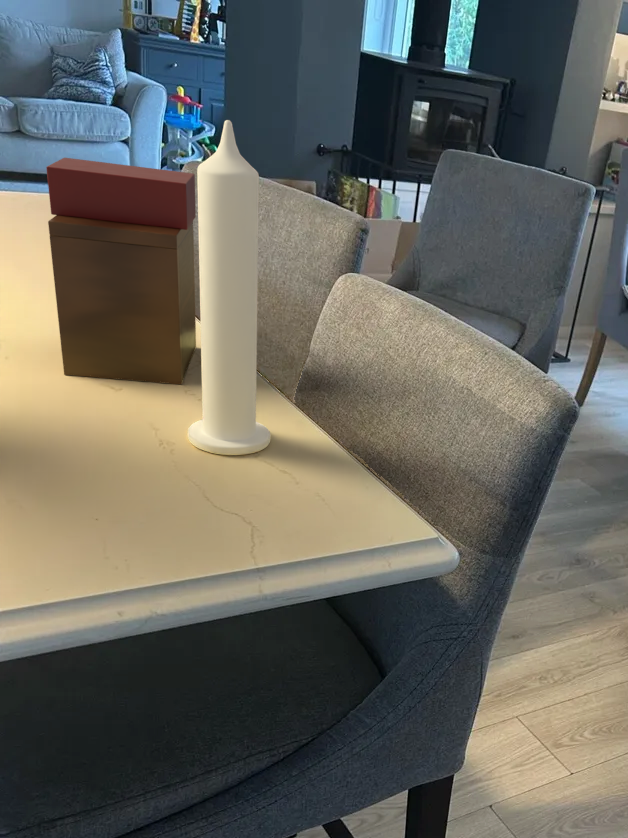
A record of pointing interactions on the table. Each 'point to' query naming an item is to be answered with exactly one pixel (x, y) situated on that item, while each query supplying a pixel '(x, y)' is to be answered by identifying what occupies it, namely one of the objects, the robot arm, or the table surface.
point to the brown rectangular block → (124, 299)
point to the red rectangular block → (121, 193)
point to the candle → (228, 302)
